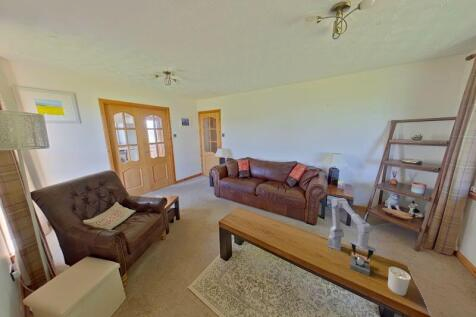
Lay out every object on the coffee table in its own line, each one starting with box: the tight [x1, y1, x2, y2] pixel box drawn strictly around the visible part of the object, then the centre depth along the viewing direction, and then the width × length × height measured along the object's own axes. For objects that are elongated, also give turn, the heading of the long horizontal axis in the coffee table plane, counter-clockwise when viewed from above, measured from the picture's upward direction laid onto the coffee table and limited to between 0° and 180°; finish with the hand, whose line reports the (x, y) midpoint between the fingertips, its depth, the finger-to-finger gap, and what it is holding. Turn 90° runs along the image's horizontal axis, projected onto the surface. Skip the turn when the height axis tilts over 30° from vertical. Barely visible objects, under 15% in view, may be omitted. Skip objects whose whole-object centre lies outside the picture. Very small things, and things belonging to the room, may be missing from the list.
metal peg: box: [356, 255, 364, 268], centre depth 119 cm, size 4×4×8 cm
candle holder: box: [387, 266, 412, 297], centre depth 102 cm, size 10×10×12 cm
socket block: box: [349, 251, 371, 277], centre depth 120 cm, size 11×12×6 cm
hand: (360, 256), depth 118 cm, fingers open, 7 cm apart
